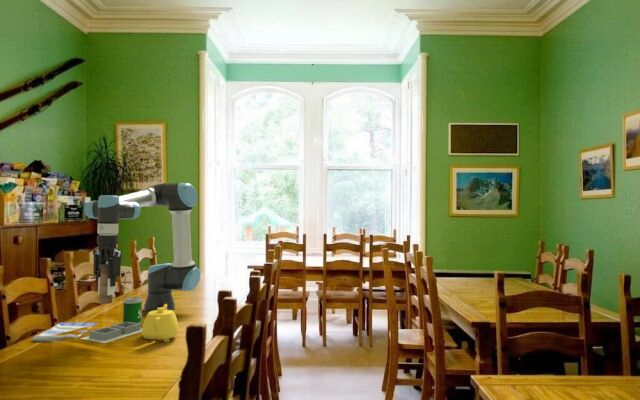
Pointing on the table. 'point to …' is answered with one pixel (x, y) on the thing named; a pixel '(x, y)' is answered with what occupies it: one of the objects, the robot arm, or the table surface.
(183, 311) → the table surface
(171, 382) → the table surface
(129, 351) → the table surface
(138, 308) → the soda can
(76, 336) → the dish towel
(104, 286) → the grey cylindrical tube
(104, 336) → the board
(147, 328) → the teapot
